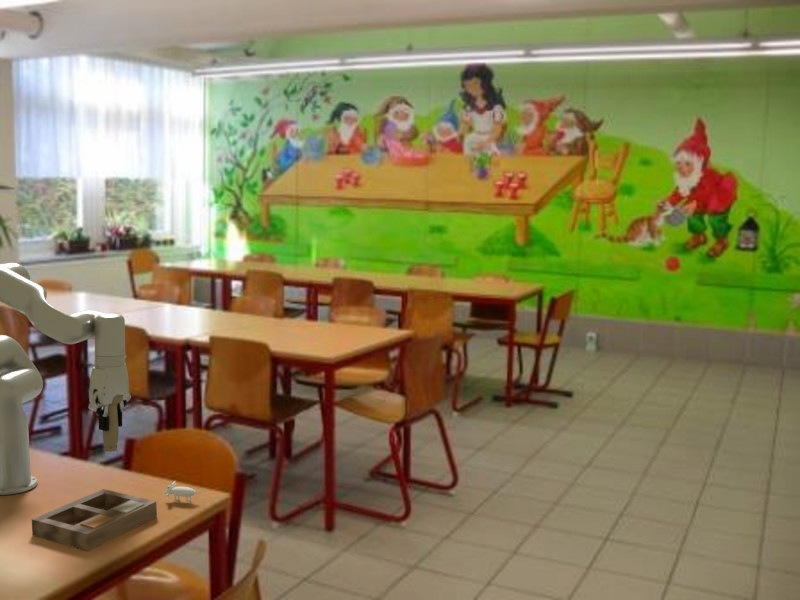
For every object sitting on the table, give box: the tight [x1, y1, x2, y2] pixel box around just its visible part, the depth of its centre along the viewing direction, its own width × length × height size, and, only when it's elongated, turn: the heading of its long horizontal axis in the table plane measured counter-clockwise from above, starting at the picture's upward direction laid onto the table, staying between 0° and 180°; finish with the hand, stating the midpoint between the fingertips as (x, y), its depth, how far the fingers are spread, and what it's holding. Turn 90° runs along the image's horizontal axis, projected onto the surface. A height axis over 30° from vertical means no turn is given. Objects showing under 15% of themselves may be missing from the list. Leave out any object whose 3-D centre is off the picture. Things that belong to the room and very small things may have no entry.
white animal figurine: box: [164, 480, 208, 504], centre depth 214 cm, size 12×5×5 cm, turn 77°
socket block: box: [31, 488, 158, 552], centre depth 199 cm, size 18×22×4 cm
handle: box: [99, 395, 123, 453], centre depth 218 cm, size 5×6×15 cm
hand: (110, 427), depth 218 cm, fingers closed on handle, 3 cm apart
